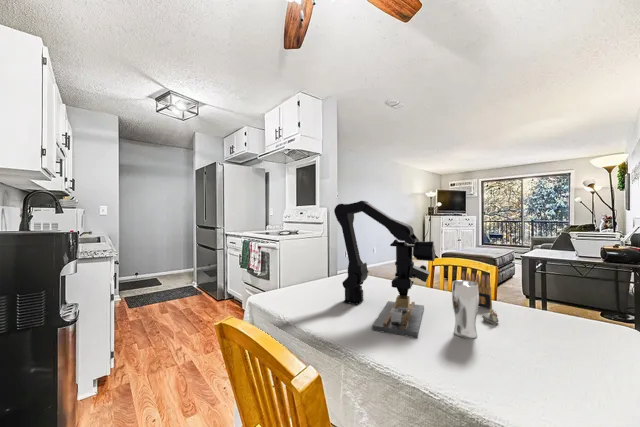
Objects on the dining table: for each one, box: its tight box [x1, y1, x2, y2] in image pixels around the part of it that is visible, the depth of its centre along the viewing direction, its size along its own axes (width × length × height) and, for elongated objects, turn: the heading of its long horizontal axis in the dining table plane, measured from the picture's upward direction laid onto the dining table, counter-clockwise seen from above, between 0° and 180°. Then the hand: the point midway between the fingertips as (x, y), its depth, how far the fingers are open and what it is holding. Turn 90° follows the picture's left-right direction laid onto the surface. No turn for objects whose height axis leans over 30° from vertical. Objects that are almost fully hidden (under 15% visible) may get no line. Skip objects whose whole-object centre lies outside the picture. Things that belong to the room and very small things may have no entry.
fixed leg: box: [391, 308, 402, 324], centre depth 87 cm, size 3×3×4 cm
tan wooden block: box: [395, 294, 411, 308], centre depth 99 cm, size 4×4×3 cm
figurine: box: [481, 306, 499, 325], centre depth 91 cm, size 5×4×6 cm
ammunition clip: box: [460, 271, 493, 310], centre depth 108 cm, size 11×2×12 cm, turn 44°
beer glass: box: [451, 279, 479, 340], centre depth 82 cm, size 7×7×15 cm
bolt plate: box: [371, 300, 425, 339], centre depth 94 cm, size 13×25×2 cm, turn 156°
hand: (404, 301), depth 103 cm, fingers closed
